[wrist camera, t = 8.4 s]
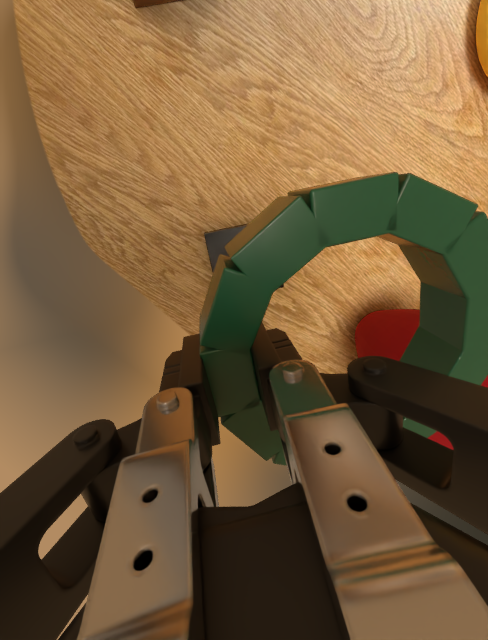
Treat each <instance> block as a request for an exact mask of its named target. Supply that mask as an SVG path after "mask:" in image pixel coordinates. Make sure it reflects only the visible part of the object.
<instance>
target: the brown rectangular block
mask: <svg viewBox="0 0 488 640" xmlns="http://www.w3.org/2000/svg"><path fill="white" fill-rule="evenodd" d="M175 1H181V0H133V2H134V5H135V7H136V8H137V7H144V6H150V5H156V4H162V3H168V2H175Z"/></svg>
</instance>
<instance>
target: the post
mask: <svg viewBox="0 0 488 640" xmlns="http://www.w3.org/2000/svg"><path fill="white" fill-rule="evenodd" d="M247 225H248V224H244V225H239V226H234V227H229V228H224V229H219V230H214V231H210V232H205V233H204V236H205V240H206V244H207V249H208V253H209V258H210V262H211V266H212V271H213V273H214V270H215V266H216V263H217V260H218V257H219V255H220V254H222V255H225V256H228V257H229V255H228V253H227V251H226V249H225V245H226V244H227V243H229V242H230V241H231V240H232V239H233V238H234V237H235V236H236V235H237V234H238V233H239V232H241V231H242V230H243V229H244V228H245V227H246V226H247ZM282 287H284V285H283V284H282V285H281V286H280V287H279V288H282Z"/></svg>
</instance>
